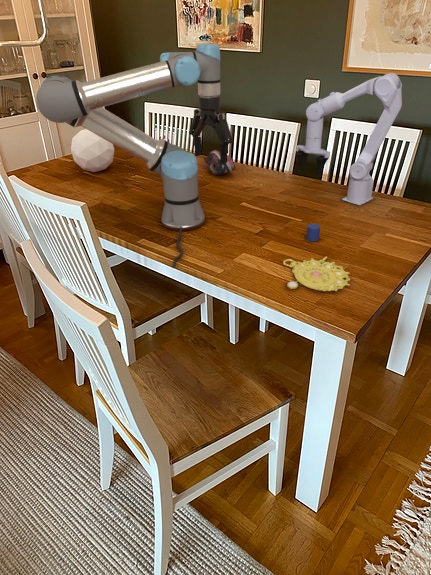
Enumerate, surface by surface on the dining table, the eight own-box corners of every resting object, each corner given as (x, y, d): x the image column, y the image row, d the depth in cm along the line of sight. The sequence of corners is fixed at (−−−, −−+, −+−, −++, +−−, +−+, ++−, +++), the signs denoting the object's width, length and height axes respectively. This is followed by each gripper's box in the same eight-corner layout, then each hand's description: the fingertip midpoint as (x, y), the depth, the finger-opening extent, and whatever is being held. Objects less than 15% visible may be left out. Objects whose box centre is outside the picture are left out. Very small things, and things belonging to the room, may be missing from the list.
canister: (306, 236, 144) (307, 223, 142) (318, 236, 144) (319, 223, 141) (307, 241, 141) (308, 228, 138) (319, 241, 141) (320, 228, 138)
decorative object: (332, 298, 110) (265, 270, 120) (331, 306, 111) (265, 278, 122) (367, 265, 123) (304, 242, 133) (365, 272, 125) (303, 249, 135)
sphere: (101, 187, 208) (88, 161, 190) (70, 166, 213) (54, 139, 194) (127, 159, 213) (117, 131, 194) (96, 140, 218) (83, 111, 199)
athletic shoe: (215, 150, 209) (192, 156, 205) (235, 143, 189) (210, 149, 185) (221, 174, 212) (199, 180, 208) (241, 169, 192) (217, 176, 188)
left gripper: (244, 98, 143) (242, 163, 155) (193, 90, 159) (195, 150, 170) (227, 102, 139) (227, 168, 150) (177, 93, 154) (180, 154, 166)
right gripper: (291, 135, 168) (289, 171, 175) (323, 142, 159) (319, 179, 166) (303, 132, 172) (300, 166, 179) (335, 138, 163) (330, 174, 170)
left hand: (210, 159), depth 160 cm, fingers open, 13 cm apart
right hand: (310, 172), depth 173 cm, fingers open, 7 cm apart
